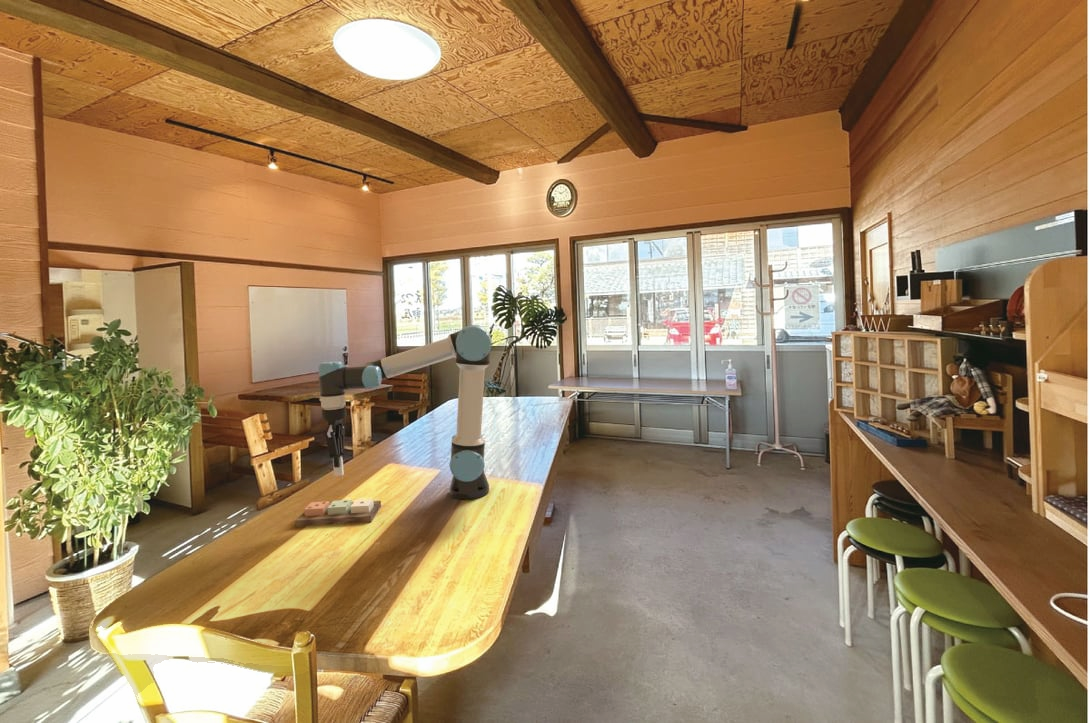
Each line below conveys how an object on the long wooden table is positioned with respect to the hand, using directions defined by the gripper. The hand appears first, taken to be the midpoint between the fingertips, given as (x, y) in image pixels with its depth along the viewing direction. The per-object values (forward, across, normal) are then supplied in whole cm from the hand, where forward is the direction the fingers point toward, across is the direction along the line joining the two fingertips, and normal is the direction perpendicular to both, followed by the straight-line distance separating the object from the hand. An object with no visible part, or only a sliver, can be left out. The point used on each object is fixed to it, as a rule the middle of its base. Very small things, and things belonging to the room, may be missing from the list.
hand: (338, 475), depth 160 cm
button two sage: (+13, 0, 0) cm, 13 cm away
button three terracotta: (+13, 0, -8) cm, 15 cm away
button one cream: (+13, 0, +7) cm, 15 cm away
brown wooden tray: (+14, 0, 0) cm, 14 cm away
